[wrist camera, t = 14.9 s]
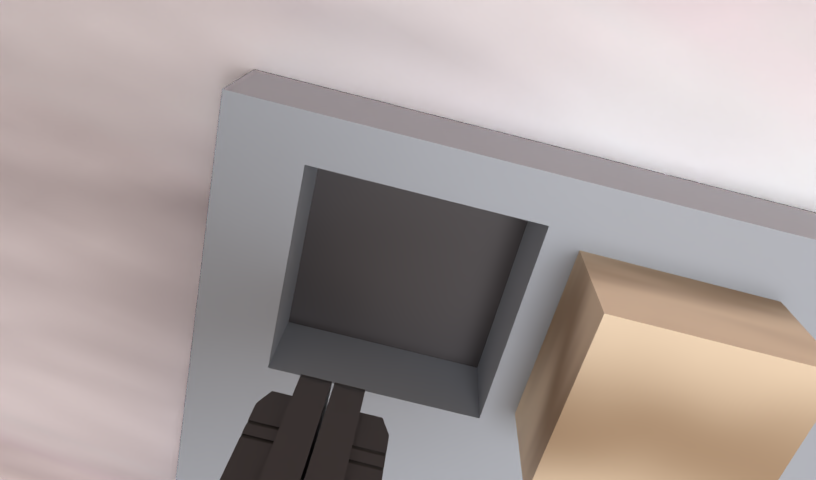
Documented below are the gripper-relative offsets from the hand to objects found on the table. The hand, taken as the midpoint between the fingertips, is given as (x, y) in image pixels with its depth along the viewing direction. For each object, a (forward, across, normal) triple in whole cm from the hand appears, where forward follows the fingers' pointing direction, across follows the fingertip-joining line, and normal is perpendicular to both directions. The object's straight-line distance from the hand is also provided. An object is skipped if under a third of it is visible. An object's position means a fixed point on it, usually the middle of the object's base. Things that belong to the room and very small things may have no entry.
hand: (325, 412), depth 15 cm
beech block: (+6, -9, 0) cm, 10 cm away
